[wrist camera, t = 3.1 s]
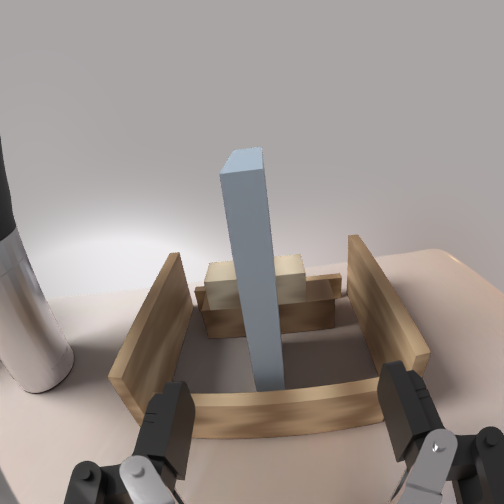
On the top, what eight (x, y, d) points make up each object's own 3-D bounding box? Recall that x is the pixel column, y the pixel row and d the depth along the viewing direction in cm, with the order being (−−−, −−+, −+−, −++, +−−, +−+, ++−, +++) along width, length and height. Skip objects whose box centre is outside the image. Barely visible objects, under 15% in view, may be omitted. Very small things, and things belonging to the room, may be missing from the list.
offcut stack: (208, 338, 34) (194, 282, 31) (213, 316, 37) (200, 263, 34) (333, 327, 33) (335, 269, 30) (327, 306, 36) (327, 251, 33)
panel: (260, 413, 24) (219, 174, 15) (261, 344, 32) (233, 150, 23) (286, 411, 24) (262, 168, 15) (281, 343, 32) (261, 146, 23)
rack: (145, 434, 22) (107, 376, 19) (184, 307, 40) (170, 253, 36) (405, 416, 21) (430, 352, 17) (355, 291, 38) (357, 234, 35)
